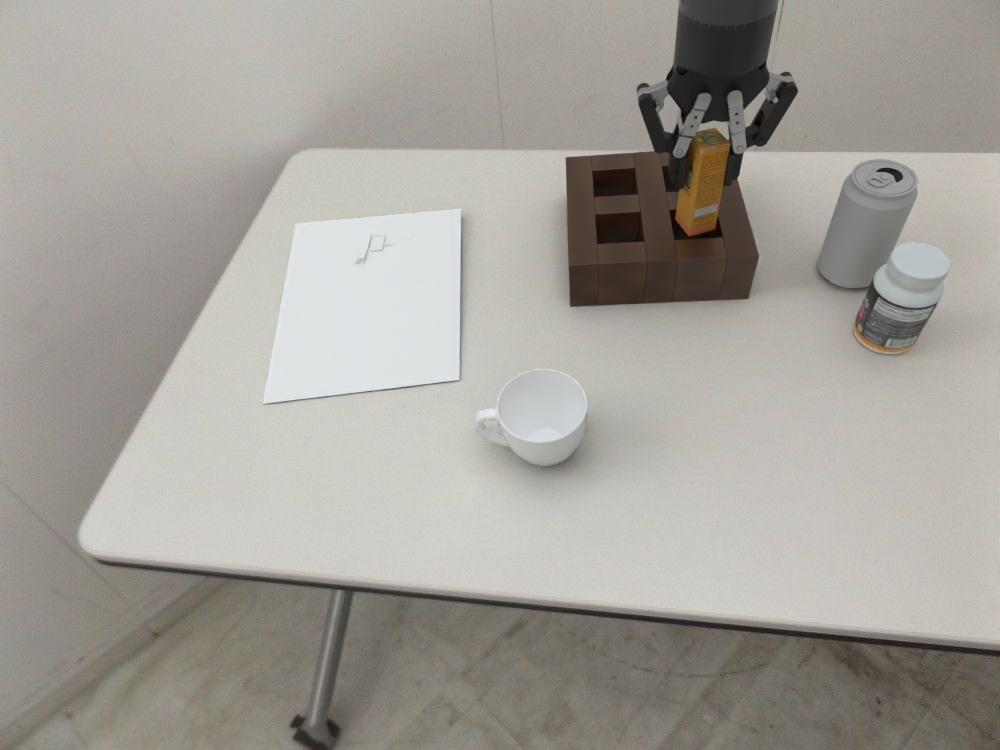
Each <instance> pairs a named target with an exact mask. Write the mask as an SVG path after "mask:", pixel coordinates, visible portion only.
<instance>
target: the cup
mask: <svg viewBox="0 0 1000 750" xmlns="http://www.w3.org/2000/svg"><path fill="white" fill-rule="evenodd" d="M495 404H496V405H495V407H489V408H484V409H481V410H479V411H477V412H476V413H475V415H474V418H473V428H474V431H475V433H476V434H477V435H478V436H479V437H480V438H482V439H483V440H485V441H487V442H489V443H492V444H495V445H498V446H501V447H508V448H509V449H510V450H511V451H512V452H513V453H514V454H515V455H516V456H517V457H518V458H520V459H521V460H522V461H524V462H526V463H528V464H531V465H534V466H536V467H537V466H538V467H551V466H555V465H559V464H561V463H563V462H565V461H566V460H567V459H568V458H570V457H571V456H572V455H573V454H574V453H575V452H576V451H577V449H578V448H579V446H580V445H581V443H582V442H583V439H584V437H585V434H586V431H587V426H588V418H589V416H588V415H589V406H588V404H589V401H588V396H587V393H586V391H585V389H584V387H583V386H582V385H581V383H580V382H579V380H577V379H576V378H574V377H573V376H572V375H570V374H568V373H566V372H564V371H561V370H558V369H554V368H533V369H530V370H526V371H523V372H521V373H518V374H517V375H515V376H514V377H512V378H511V379H510V380H508V381H507V382H506V383H505V384H504V385H503V387H501V390H500V392H499V393H498V396H497V398H496V403H495ZM489 421H491V422H493V421H494V422H496V423H497V424H498V427H499V428H500V432H501V433H500V432H498V431H495V430H493V429H491V428H490V427H488V426H486V425H485V422H489Z"/></svg>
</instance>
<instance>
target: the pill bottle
mask: <svg viewBox="0 0 1000 750" xmlns="http://www.w3.org/2000/svg"><path fill="white" fill-rule="evenodd" d="M950 270H951V259H950V257H949V256H948V255H947V254H946V253H945V251H943V250H942V249H941V248H939V247H937V246H935V245H933V244H930V243H927V242H920V241H909V242H903V243H901V244H899V245H896V246H895V248H894V250H893V251H892V253H891V255H890V257H889V259H888V262H887V264H885V265H883V266H882V267H880V268H879V269H878V271H877V272H876V273H875V275H874V276H873V279H872V282H871V284H870V286H868V288H867V291H866V293H865V296H864V298H863V300H862V302H861V305H860V307H859V308H858V310H857V311H858V312H857V314H856V316H855V318H854V321H853V324H852V325H853V328H852V330H853V334H854V336H855V338H856V340H857V341H858V342H859V343H860V344H861V345H862V346H863V347H865V348H866V349H868V350H870V351H872V352H874V353H878V354H883V355H898V354H899V355H900V354H903V353H905V352H907V351H909V350H910V349H912V348H913V346H914V345H916V343H917V342H918V340H919V338H920V336H921V335H922V333H923V332H924V329H925V328H926V327H927V324H928V322H929V320H930V319H931V317H932V315H933V314H934V311H935V310H936V308H937V307H938V305H939V303H940V301H941V300H942V298H943V295H944V292H945V279H946V278H947V276H948V274H949V272H950Z"/></svg>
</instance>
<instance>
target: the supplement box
mask: <svg viewBox="0 0 1000 750" xmlns="http://www.w3.org/2000/svg"><path fill="white" fill-rule="evenodd" d="M730 145H731V143H730V142H729V139H727V138H726V137H725V136H724V135H723V134H722V132H721V131H719V129H717V128H716V127H713V128H712V127H711V128H706V129H702V130H698V131H697V133H696V135H695V137H694V138H692V140H691V143H690V145H689V148H688V150H687V152H686V153H687V167H686V175H685V183H684V189H679V196H678V203H677V211H676V217H675V218H676V221H677V222H678V223H679V224H680V226H681V227H682V228H683V230H684V231H685V232H686V233H687V235H688V236H689V237H690V236H694V235H698V234H701V233H704V232H708V231H711V230H714V229H715V228H716V221H717V216H718V210H719V205H720V200H721V194H722V188H723V184H724V178H725V172H726V166H727V161H728V155H729V150H730Z"/></svg>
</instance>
